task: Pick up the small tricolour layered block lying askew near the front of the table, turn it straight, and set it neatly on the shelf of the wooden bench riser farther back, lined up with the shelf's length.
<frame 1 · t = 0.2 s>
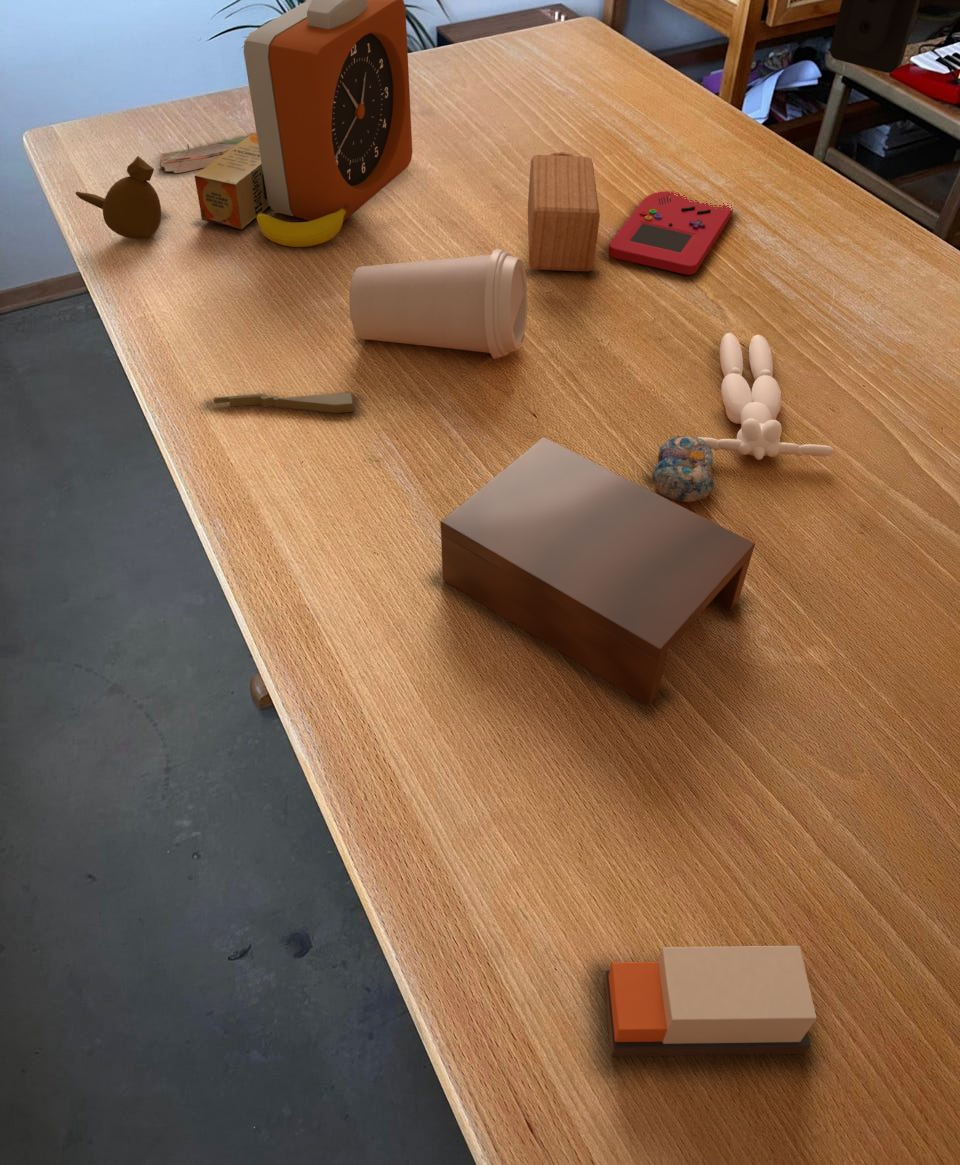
hand: (907, 33, 48), 37 cm above the table, tool pointing down, fingers open, 9 cm apart
coffee cup: (359, 303, 93), point 3 cm above the table
fruit: (299, 245, 105), point 1 cm above the table
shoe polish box: (274, 158, 115), point 3 cm above the table
wooden bench riser: (589, 590, 73), on the table
figurine: (136, 205, 104), point 4 cm above the table
decorative figure: (743, 327, 93), point 2 cm above the table
decorative item: (564, 243, 100), point 4 cm above the table
decorative stone: (682, 484, 81), on the table
handheld gaming console: (693, 198, 113), point 1 cm above the table
tricolour layered block: (702, 1015, 53), on the table
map: (241, 150, 123), on the table
alarm clock: (344, 190, 115), on the table
olive tapered flat bar: (282, 396, 87), point 1 cm above the table
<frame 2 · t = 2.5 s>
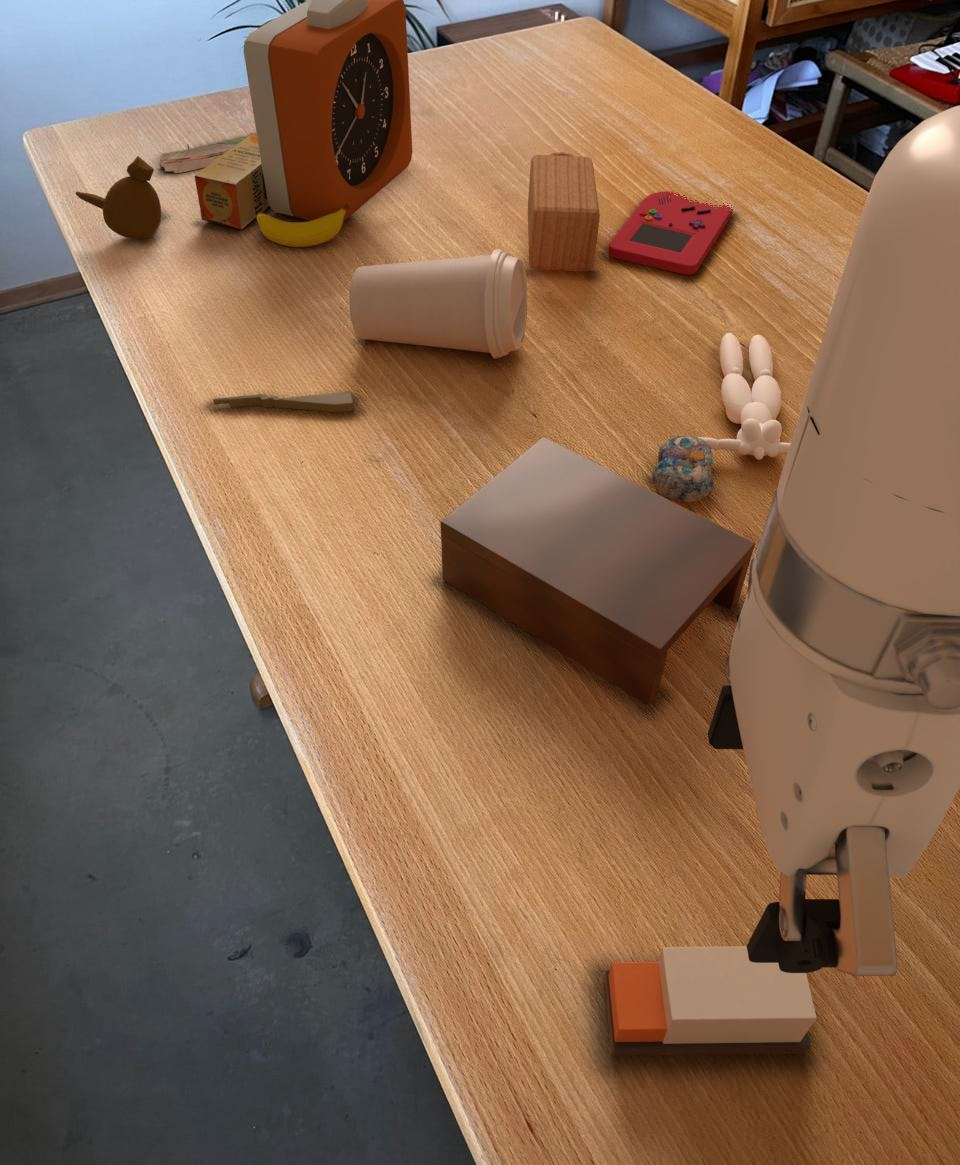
hand: (762, 840, 42), 16 cm above the table, tool pointing down, fingers open, 9 cm apart
nothing on the table moved.
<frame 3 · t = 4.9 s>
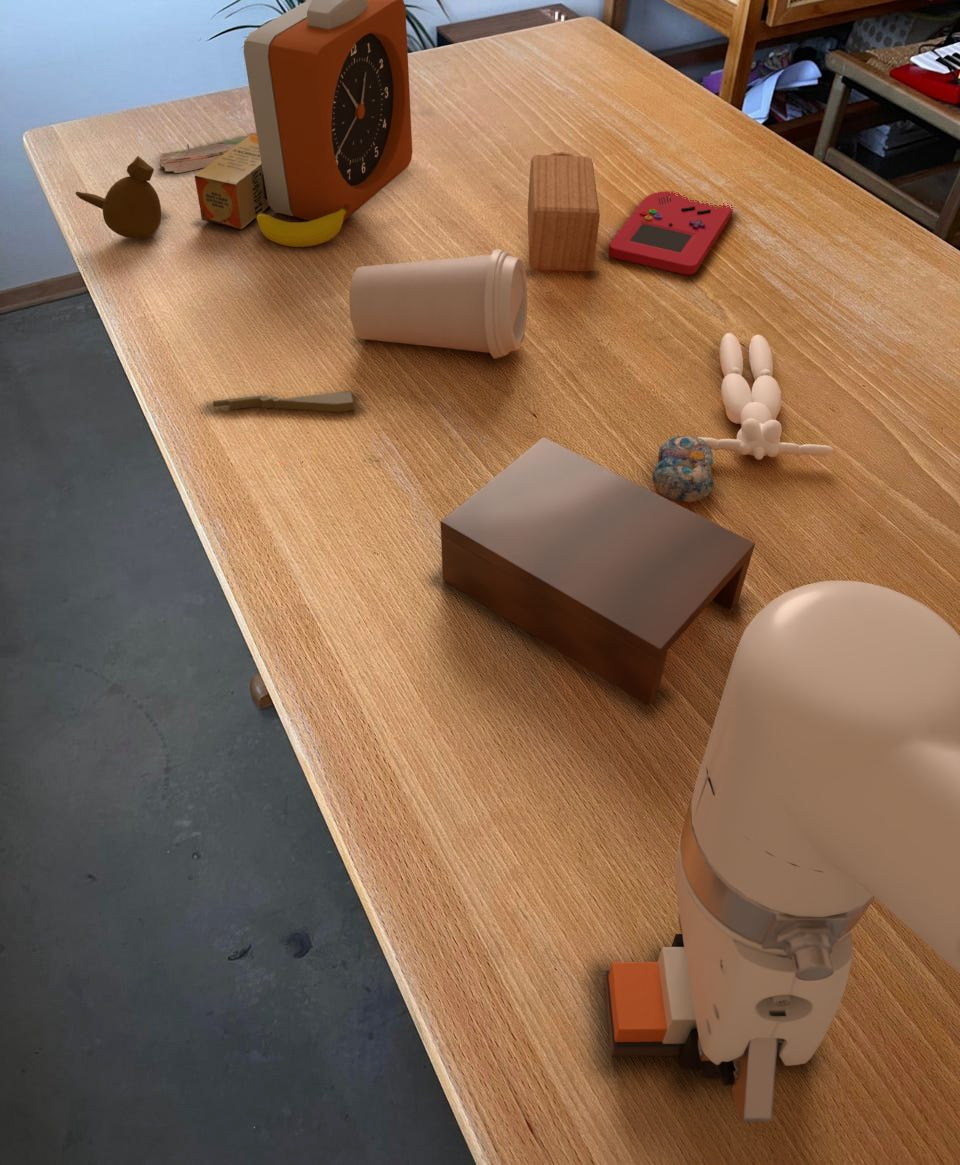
hand: (702, 1013, 52), 0 cm above the table, tool pointing down, fingers closed on tricolour layered block, 4 cm apart
fruit: (299, 245, 105), point 1 cm above the table, touching alarm clock
tricolour layered block: (702, 1015, 53), on the table, touching gripper
alarm clock: (344, 190, 115), on the table, touching fruit
everything else where it was.
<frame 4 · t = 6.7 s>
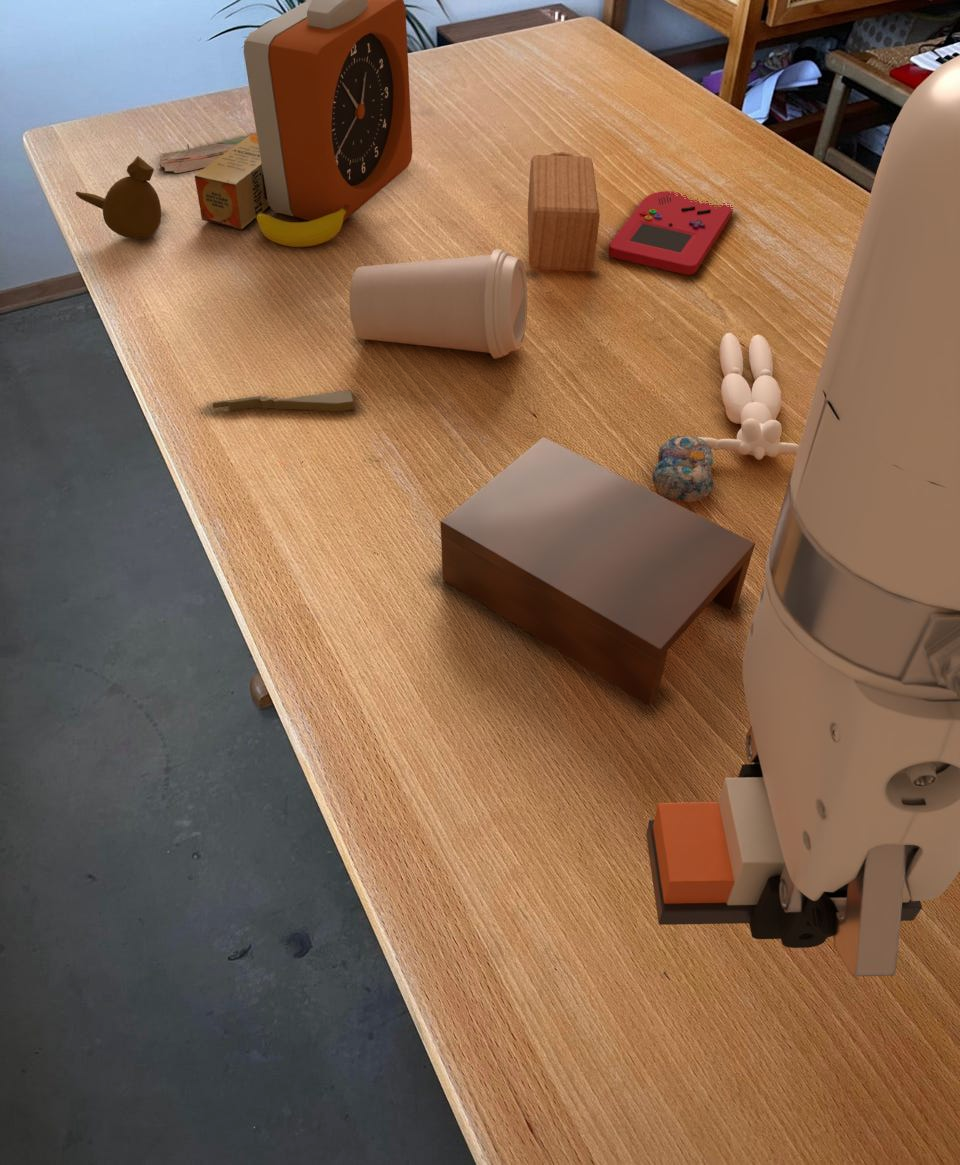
hand: (777, 871, 40), 17 cm above the table, tool pointing down, fingers closed on tricolour layered block, 4 cm apart
fruit: (299, 245, 105), point 1 cm above the table
tricolour layered block: (775, 875, 40), point 16 cm above the table, touching gripper
alarm clock: (344, 190, 115), on the table
everything else where it was.
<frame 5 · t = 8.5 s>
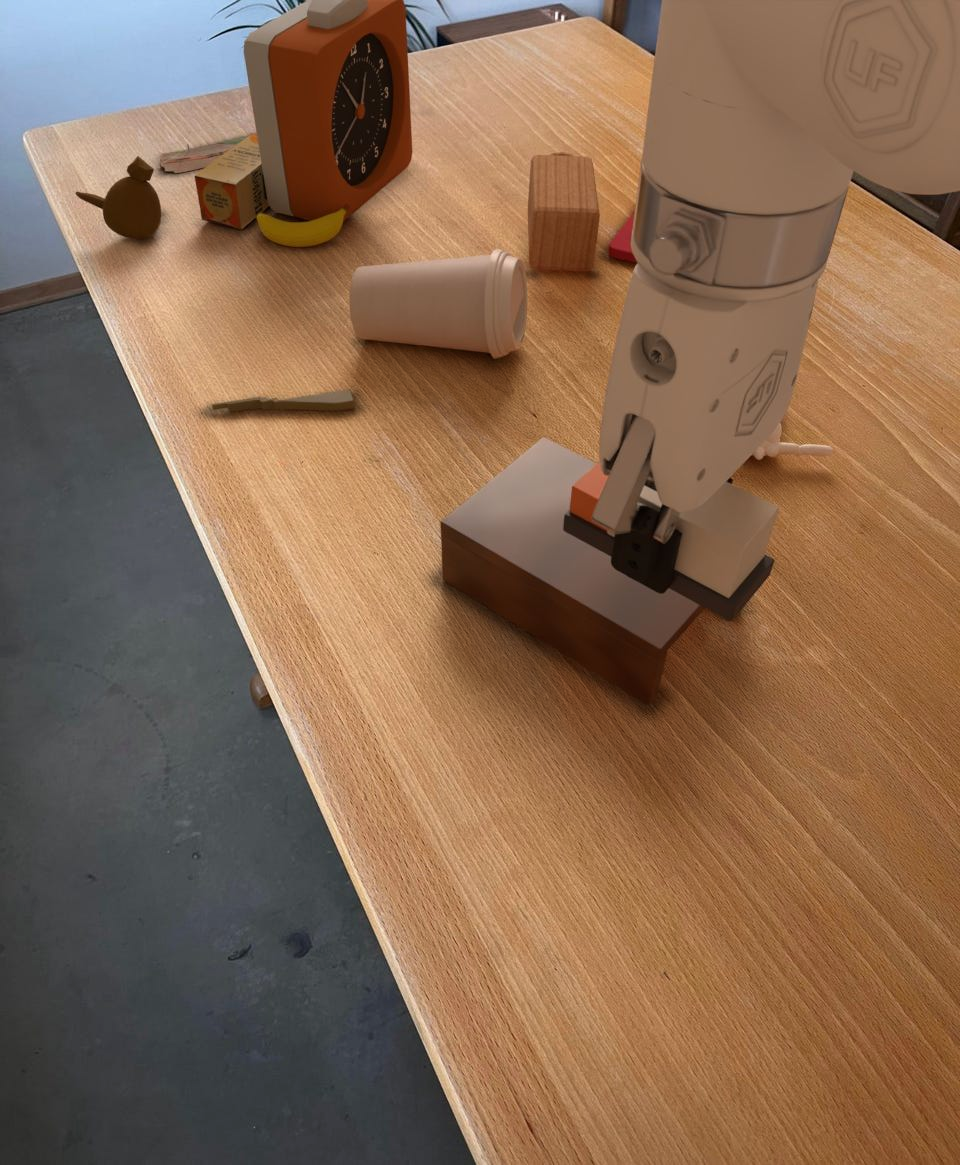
hand: (665, 548, 51), 18 cm above the table, tool pointing down, fingers closed on tricolour layered block, 4 cm apart
tricolour layered block: (664, 552, 51), point 17 cm above the table, touching gripper
everything else where it was.
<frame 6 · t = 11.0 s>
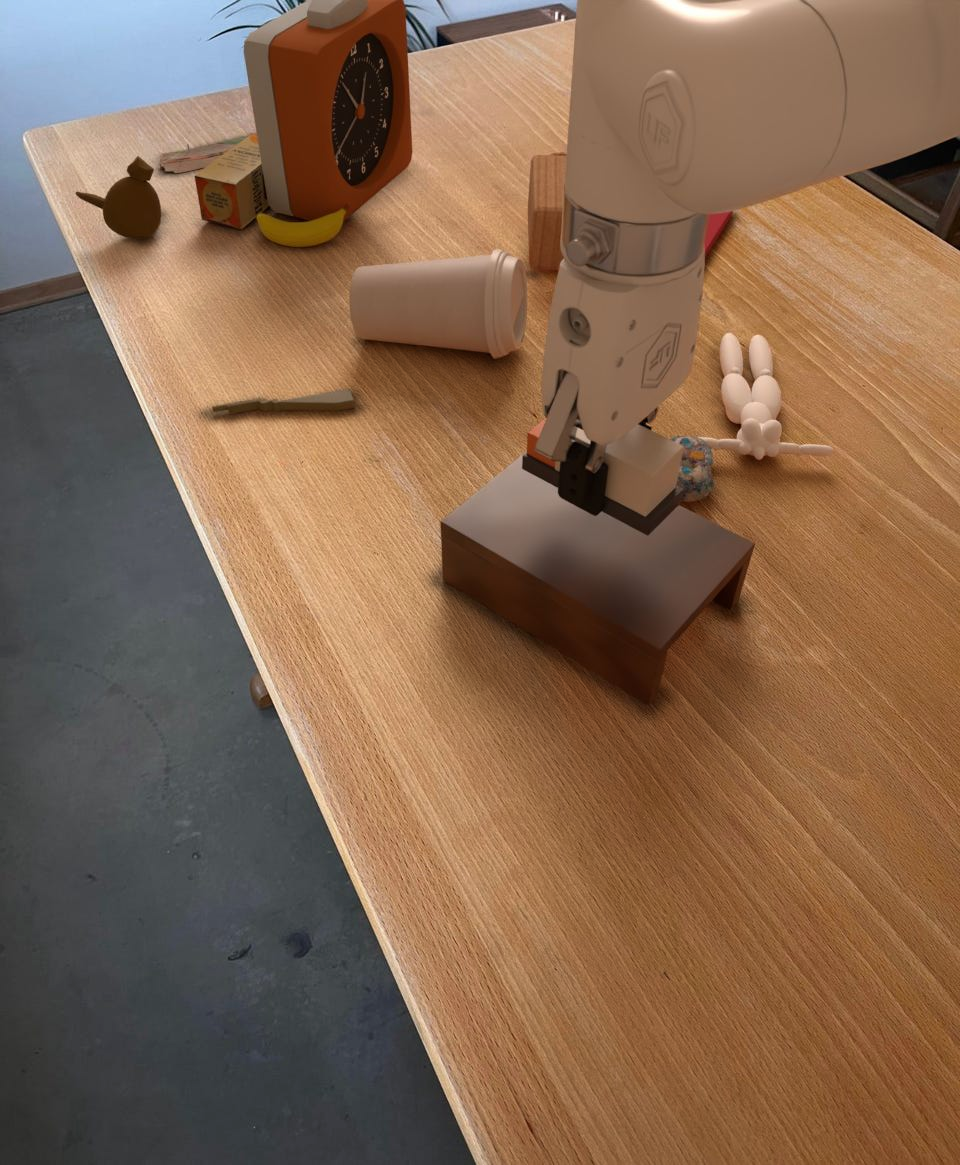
hand: (601, 483, 65), 10 cm above the table, tool pointing down, fingers closed on tricolour layered block, 4 cm apart
tricolour layered block: (600, 485, 66), point 10 cm above the table, touching gripper
everything else where it was.
when the fingers open (6 cm above the table, at t = 12.4 s): tricolour layered block stays where it is, resting on wooden bench riser.
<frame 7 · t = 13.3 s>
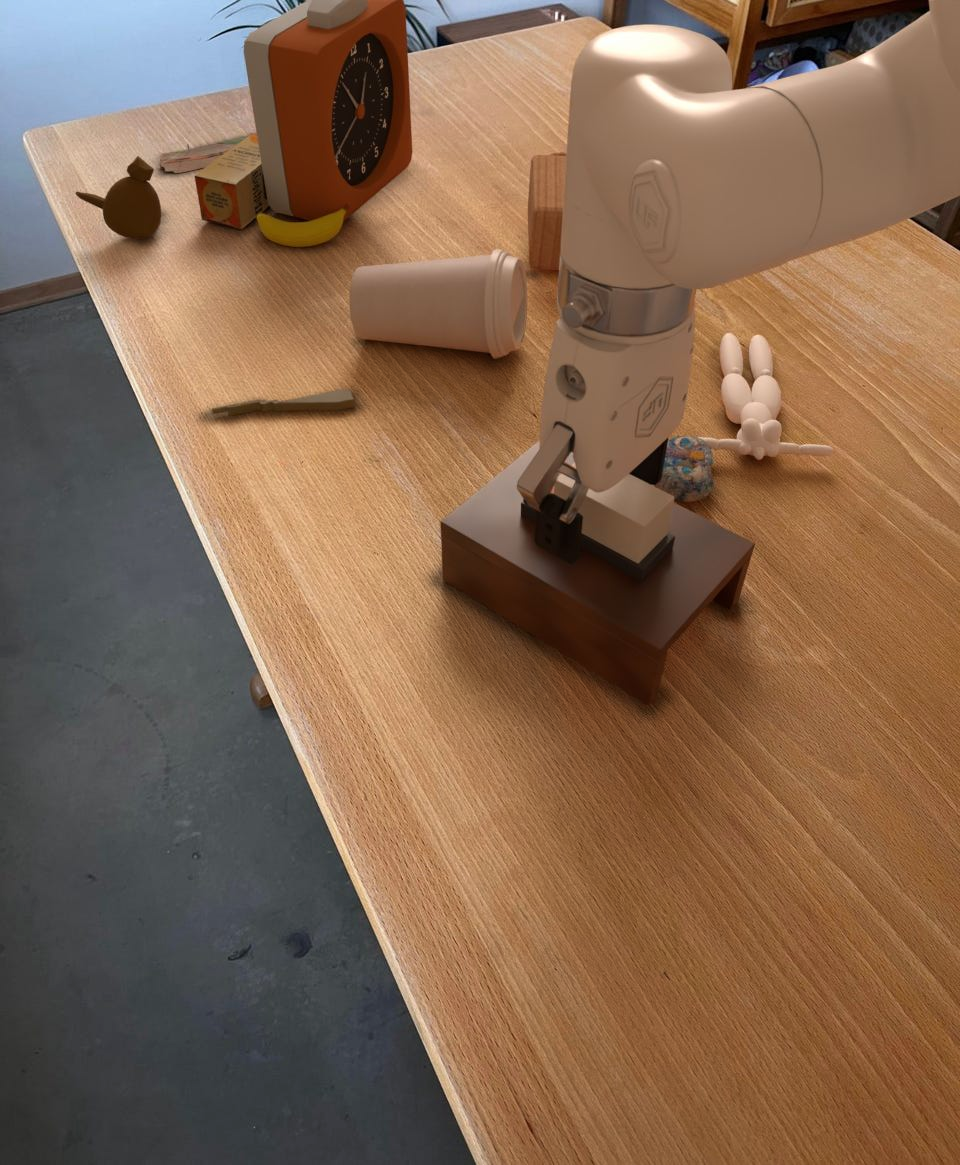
hand: (599, 512, 67), 8 cm above the table, tool pointing down, fingers open, 9 cm apart
tricolour layered block: (595, 531, 69), point 6 cm above the table, touching wooden bench riser
everything else where it was.
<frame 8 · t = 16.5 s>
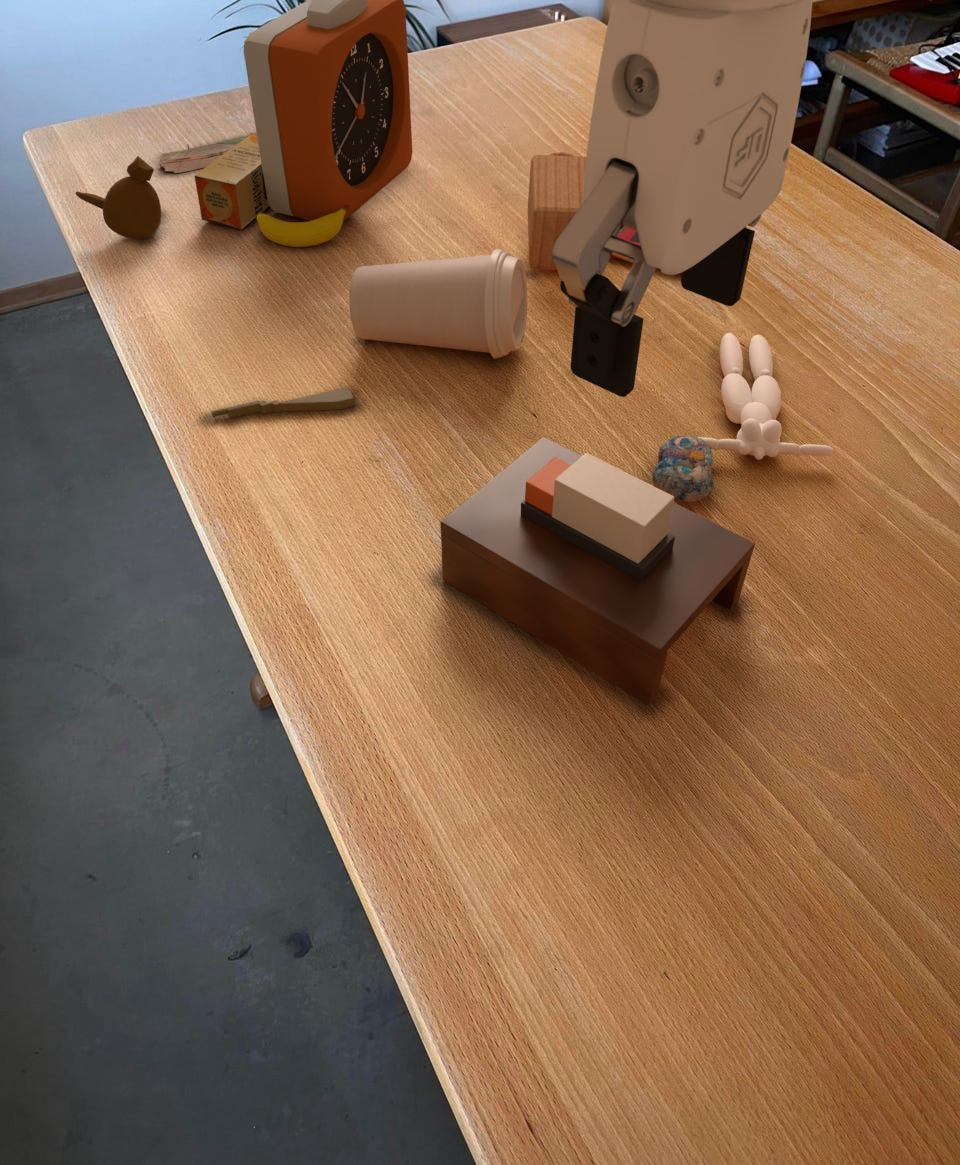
hand: (658, 337, 49), 26 cm above the table, tool pointing down, fingers open, 9 cm apart
nothing on the table moved.
at the end: tricolour layered block 0.1 cm off-centre on the wooden bench riser, point 6.0 cm above the wooden bench riser's base; tricolour layered block tilted 0°; the gripper is holding nothing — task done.
